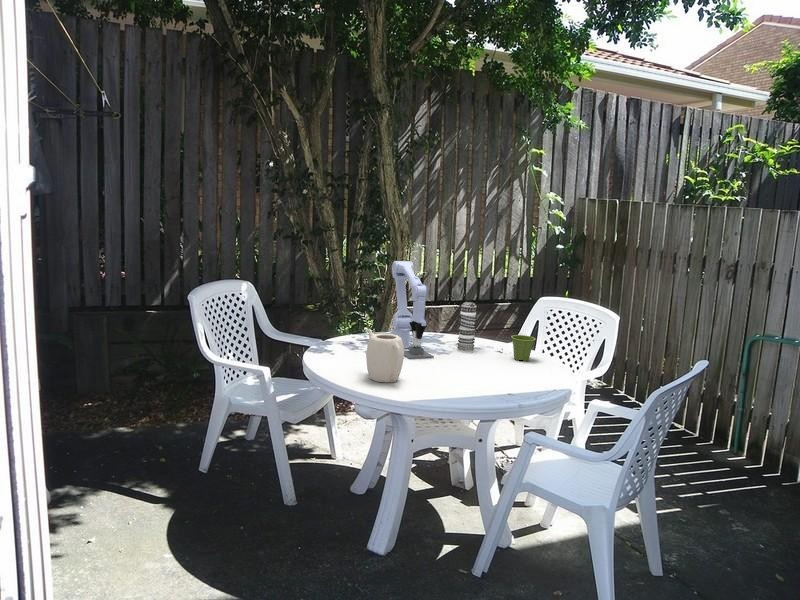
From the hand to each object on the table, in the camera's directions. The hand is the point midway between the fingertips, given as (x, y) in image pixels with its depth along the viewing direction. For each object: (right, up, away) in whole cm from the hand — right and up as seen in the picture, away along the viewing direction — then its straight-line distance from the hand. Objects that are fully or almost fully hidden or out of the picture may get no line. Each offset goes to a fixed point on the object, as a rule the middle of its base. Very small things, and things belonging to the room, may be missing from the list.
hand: (417, 337), depth 342 cm
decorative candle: (+25, -8, +17) cm, 31 cm away
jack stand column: (0, -4, +1) cm, 4 cm away
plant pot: (+52, -11, +5) cm, 53 cm away
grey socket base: (-1, -9, +1) cm, 9 cm away
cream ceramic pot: (-16, -15, -44) cm, 49 cm away
